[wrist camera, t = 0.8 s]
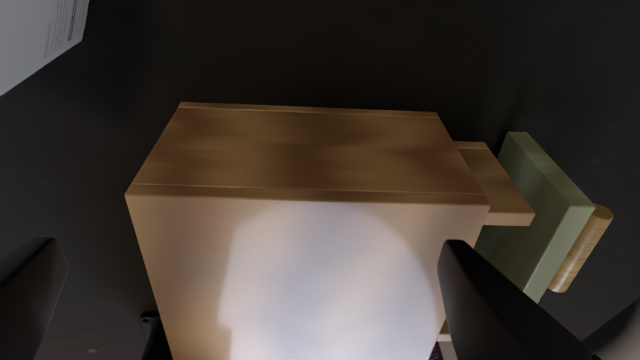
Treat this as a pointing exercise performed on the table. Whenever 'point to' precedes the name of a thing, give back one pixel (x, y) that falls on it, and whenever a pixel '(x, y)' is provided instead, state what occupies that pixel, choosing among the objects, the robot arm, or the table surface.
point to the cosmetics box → (36, 35)
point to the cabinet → (301, 230)
